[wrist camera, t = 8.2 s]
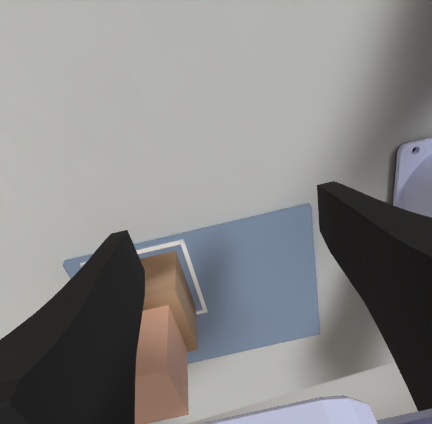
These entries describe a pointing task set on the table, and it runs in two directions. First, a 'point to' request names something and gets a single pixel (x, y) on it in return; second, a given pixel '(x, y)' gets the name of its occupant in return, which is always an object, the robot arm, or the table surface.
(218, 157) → the table surface
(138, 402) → the terracotta block
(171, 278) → the walnut block
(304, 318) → the blueprint plate
